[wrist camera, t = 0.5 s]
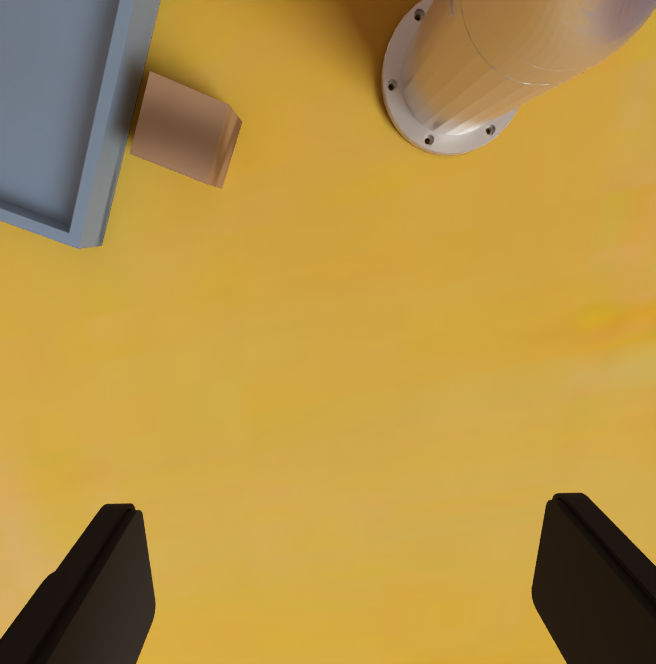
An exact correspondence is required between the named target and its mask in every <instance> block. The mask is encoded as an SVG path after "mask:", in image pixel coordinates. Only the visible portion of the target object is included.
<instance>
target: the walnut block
mask: <svg viewBox="0 0 656 664" xmlns="http://www.w3.org/2000/svg"><path fill="white" fill-rule="evenodd" d="M241 124H242V121H241V120H240V119H239V117H238V116H237V115H236V113H235V112H234V111H233V109H232V108H231V107H230V105H229V104H226V103H224V102H222V101H219V100H217V99H215V98H212V97H210V96H208V95H205V94H203V93H201V92H198V91H196V90H193V89H191V88H189V87H186V86H184V85H182V84H179V83H177V82H175V81H172V80H170V79H168V78H165V77H163V76H161V75H158V74H156V73H154V72H151V71H150V73H149V77H148V81H147V85H146V89H145V93H144V98H143V102H142V106H141V110H140V114H139V118H138V122H137V126H136V131H135V135H134V139H133V143H132V147H131V151H130V154H132V155H135V156H137V157H140V158H142V159H145V160H148V161H150V162H153V163H155V164H158V165H160V166H163V167H165V168H168V169H170V170H173V171H175V172H178V173H180V174H183V175H185V176H188V177H190V178H193V179H195V180H198V181H200V182H203V183H205V184H209V185H212V186H215V187H219V188H222V187H223V183H224V180H225V177H226V174H227V170H228V167H229V164H230V160H231V157H232V154H233V150H234V147H235V144H236V140H237V137H238V134H239V131H240V127H241Z"/></svg>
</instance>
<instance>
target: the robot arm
mask: <svg viewBox="0 0 656 664" xmlns="http://www.w3.org/2000/svg"><path fill="white" fill-rule="evenodd" d="M655 8H656V0H421V1H420V2H418V3H417V4H416V5H415V6H414V7H413V8H412V9H411V10H410V11H409V12H408V13H407V14H405V16H404V17H403V19H402V20H401V21H400V23H399V24H398V26H397V27H396V29H395V31H394V33H393V35H392V37H391V39H390V41H389V44H388V46H387V49H386V52H385V55H384V60H383V65H382V72H381V88H382V94H383V101H384V104H385V107H386V110H387V113H388V116H389V117H390V119H391V121H392V123H393V125H394V126H395V128H396V129H397V130H398V131H399V133H400V134H401V135H402V136H403V137H404V138H405V139H406V140H407V141H408V142H410V143H411V144H412V145H413V146H415V147H417V148H419V149H421V150H423V151H425V152H428V153H432V154H436V155H445V156H453V155H459V154H465V153H467V152H470V151H473V150H476V149H478V148H480V147H482V146H484V145H486V144H487V143H489V142H490V141H492V140H493V139H494V138H496V137H497V136H498V135H499V134H500V133H501V132H502V131H503V130H504V129H505V128H506V127H507V126H508V124H509V123H510V121H511V120H512V118H513V117H514V115H515V114H516V113H517V110H518V108H519V106H521V105H523V104H525V103H527V102H529V101H531V100H533V99H535V98H536V97H538V96H540V95H542V94H544V93H546V92H548V91H550V90H552V89H554V88H555V87H557V86H559V85H561V84H563V83H565V82H567V81H569V80H571V79H573V78H574V77H576V76H578V75H580V74H582V73H584V72H585V71H587V70H589V69H591V68H593V67H594V66H596V65H598V64H599V63H601V62H603V61H604V60H606V59H607V58H608V57H610V56H611V55H613V54H614V53H615V52H617V51H618V50H619V49H620V48H621V47H622V46H624V45H625V44H626V43H627V42H628V41H629V40H630V39H631V38H632V37H633V36H634V35H635V34H636V33H637V32H638V31H639V29H640V28H641V27H642V26H643V25H644V23H645V22H646V21H647V19H648V18H649V17H650V15H651V14H652V13H653V11H654V10H655ZM415 17H418V18H419V21H417V20H416V19H415ZM389 85H392V86H393V90H389V88H388V86H389ZM486 129H488V130H489V134H487V133H486ZM425 139H428V140H429V144H425ZM532 599H533V603H534V605H535V608H536V610H537V612H538V613H539V615H540V617H541V619H542V620H543V622H544V624H545V626H546V627H547V629H548V631H549V633H550V634H551V636H552V638H553V640H554V642H555V643H556V645H557V647H558V649H559V650H560V652H561V654H562V656H563V657H564V659H565V661H566V663H567V664H656V566H655V565H654V564H653V563H652V562H651V561H650V560H649V559H648V558H647V557H646V556H645V555H644V554H643V553H642V552H641V551H640V550H639V549H638V548H637V547H636V546H635V545H634V544H633V543H632V541H631V540H630V539H629V538H628V537H627V536H626V535H625V534H624V533H623V532H622V531H621V530H620V529H619V528H618V527H617V526H616V525H615V524H614V523H613V522H612V521H611V520H610V519H609V518H608V517H607V516H606V515H605V514H604V513H603V512H602V511H601V510H600V509H599V508H598V507H597V506H596V505H595V504H594V503H593V502H592V501H591V500H590V499H589V498H588V497H587V496H586V495H585V494H583V493H557V494H555V495H554V496H553V499H552V500H549V501H548V502H547V504H546V509H545V514H544V520H543V526H542V532H541V538H540V544H539V549H538V555H537V561H536V567H535V573H534V579H533V585H532ZM155 605H156V604H155V595H154V589H153V582H152V575H151V568H150V561H149V554H148V548H147V541H146V534H145V527H144V520H143V514H142V512H141V511H140V510H135V507H134V505H133V504H131V503H129V504H106V505H103V507H102V508H101V509H100V510H99V511H98V513H97V514H96V516H95V517H94V518H93V520H92V521H91V523H90V524H89V525H88V527H87V528H86V529H85V531H84V532H83V534H82V535H81V536H80V538H79V539H78V540H77V542H76V543H75V545H74V546H73V547H72V549H71V550H70V552H69V553H68V554H67V556H66V557H65V558H64V560H63V561H62V563H61V564H60V565H59V567H58V568H57V569H56V571H55V572H53V573H51V574H50V575H49V576H48V577H47V578H46V579H45V580H44V581H43V582H42V584H41V585H40V586H39V588H38V589H37V590H36V592H35V593H34V594H33V596H32V597H31V598H30V600H29V601H28V603H27V604H26V605H25V607H24V608H23V609H22V611H21V612H20V613H19V615H18V616H17V617H16V619H15V620H14V622H13V623H12V624H11V626H10V627H9V628H8V630H7V631H6V632H5V634H4V635H3V636H2V638H1V639H0V664H136V662H137V660H138V657H139V655H140V652H141V649H142V647H143V644H144V642H145V639H146V637H147V634H148V632H149V629H150V627H151V624H152V621H153V618H154V614H155Z"/></svg>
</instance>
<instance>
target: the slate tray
mask: <svg viewBox="0 0 656 664" xmlns="http://www.w3.org/2000/svg"><path fill="white" fill-rule="evenodd" d="M159 4H160V0H0V221H3V222H6V223H8V224H11V225H14V226H17V227H19V228H22V229H25V230H28V231H30V232H33V233H36V234H39V235H42V236H44V237H47V238H50V239H53V240H55V241H58V242H61V243H64V244H67V245H69V246H72V247H75V248H78V249H81V248H88V247H95V246H102V243H103V238H104V234H105V230H106V226H107V222H108V218H109V213H110V209H111V205H112V201H113V197H114V192H115V188H116V184H117V180H118V176H119V171H120V167H121V163H122V159H123V155H124V151H125V146H126V142H127V138H128V134H129V130H130V125H131V121H132V117H133V113H134V109H135V105H136V100H137V96H138V92H139V88H140V84H141V79H142V75H143V71H144V67H145V63H146V58H147V54H148V50H149V46H150V42H151V38H152V33H153V29H154V25H155V21H156V17H157V12H158V8H159Z"/></svg>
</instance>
